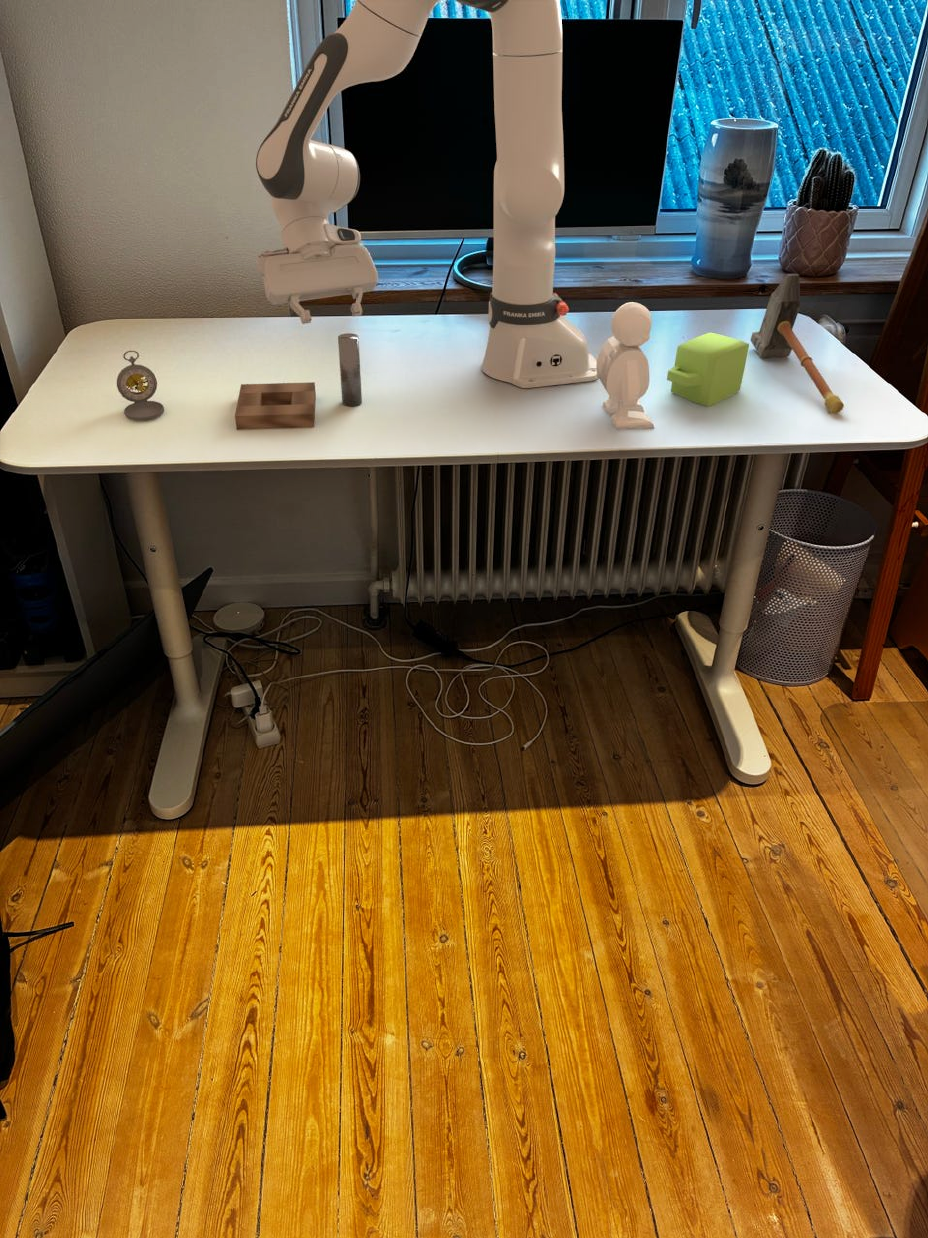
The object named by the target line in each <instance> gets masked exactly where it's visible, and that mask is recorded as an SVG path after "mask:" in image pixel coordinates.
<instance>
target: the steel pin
mask: <svg viewBox="0 0 928 1238" xmlns="http://www.w3.org/2000/svg"><path fill="white" fill-rule="evenodd" d="M359 341H360V339H359V335H358V334H356V333H352V332H351V333H349V332H347V333H342V334H339V335H338V336H337V344H338V357H339V358H338V359H339V372H340V373H339V374H340V375H339V376H340V388H341V389H340V390H341V402H342V406H345V407H350V408H351V407H359V406H360V405H362V403H363V400H362V395H363V394H362V380H361V379H362V377H361V361H360V358H361V357H360V342H359Z"/></svg>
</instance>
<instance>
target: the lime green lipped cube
mask: <svg viewBox="0 0 928 1238" xmlns="http://www.w3.org/2000/svg"><path fill="white" fill-rule="evenodd" d="M749 346H750V343H748V342H746V341H743V340H740V339H737V338H733V337H730V336H726V335H723V334H719V333H714V332H707V333H704V334H702V335H699V336H696V337H694V338H692V339H690V340H688V341H686V342H683V343H681V344H679V345H677V349H676V354H675V361H674V366H673V367H672V368H670V369H668V370H667V374H666V375H667V376H666V380H667V381H669V382H671V386H670V392H671V393H673V394H675V395H677V396H680V397H682V398H684V399H686V400H689V401H691V402H693V403H695V404H699V405H701V406H704V407H705V406H706V407H710V406H712V405H715V404H717V403H719V402H721V401H723V400H725V399H727V398H729V397H731V396H733V395H734V394H736V393H738V392H739V391H741V388H742V382H743V377H744V373H745V367H746V363H747V359H748V358H747V357H748V353H749Z"/></svg>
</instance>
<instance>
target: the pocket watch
mask: <svg viewBox="0 0 928 1238" xmlns="http://www.w3.org/2000/svg"><path fill="white" fill-rule="evenodd" d="M128 353H135V354H136V355H137V356H136V358H134V356H132V355H131V356H130V357H129V358H126V354H128ZM122 357H123V359H124V360H125V361H128V362H129V363H131V364H129V365H126V366H125V367H124V368H123V369H121V370H120V371H119V373H118V375H117V377H116V388H117V391H118V393H119V394H120V396H121V397H122V398H124V399H125V400H127V401H129V402H132V403H130V404H128V405H127V406H125V408H124V410H123V413H124V416H125V417H126V418H128V419H129V420H134V421H149V420H152V419H155V418H157V417H160V416H161V415H163V413H164V412H165V406H164V405H163V404H162V403H161V402H159V401H155V400H149V399H150V398H152V397H153V396H154V394H155V393H156V390H157V387H158V381H157V377H156V375H155V374H154V372H153V371H152V370H151V369H150V368H149V367H147V366H145V365H142V364H136V363H135V362H136V361H137V360H138V359H139V357H140V354H139V352H137V351H136V350H128V351H126V352H124V353H123V356H122ZM145 384H147V385H145Z"/></svg>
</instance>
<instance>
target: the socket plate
mask: <svg viewBox="0 0 928 1238" xmlns="http://www.w3.org/2000/svg"><path fill="white" fill-rule="evenodd" d="M316 393H317V392H316V383H315V382H314V381H313V382H312V381H311V382H279V383H278V382H277V383H275V382H274V383H272V382H271V383H243V384H242V383H241V384H240V388H239V393H238V396H237V397H238V398H237V403H236V408H235V413H234V421H235V425H236V428H235V429H236V430H237V431H238V430H239V431H240V430H267V429H270V430H271V429H273V430H275V429H298V428H299V429H303V428H304V429H305V428H315V423H316V422H315V419H316V399H317V397H316V396H317V395H316Z"/></svg>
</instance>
